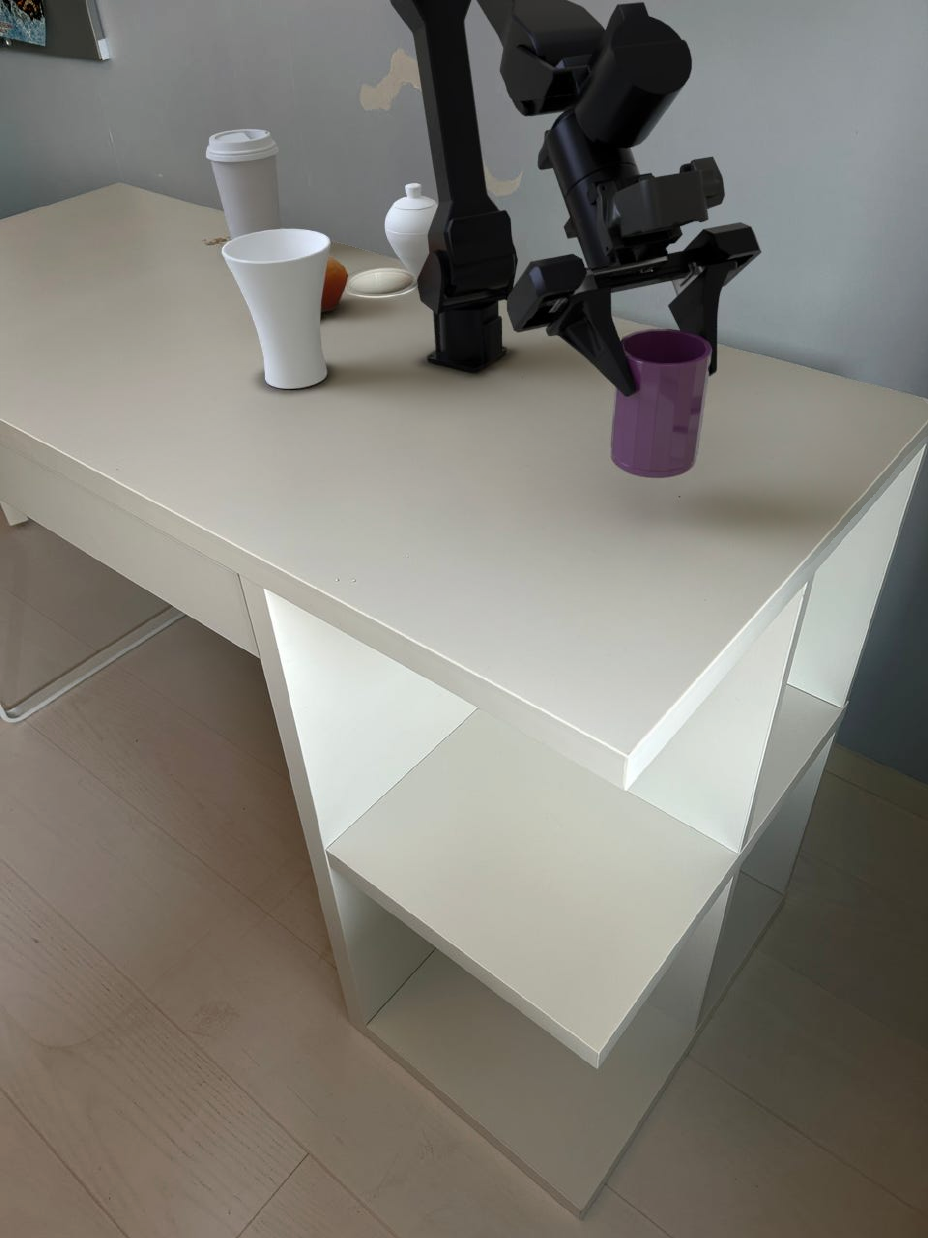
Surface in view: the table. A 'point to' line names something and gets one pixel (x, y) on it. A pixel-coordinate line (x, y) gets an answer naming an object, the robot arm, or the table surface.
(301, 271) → the cup
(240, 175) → the coffee cup
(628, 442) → the tumbler
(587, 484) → the table surface
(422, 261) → the spinning top
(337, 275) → the fruit
